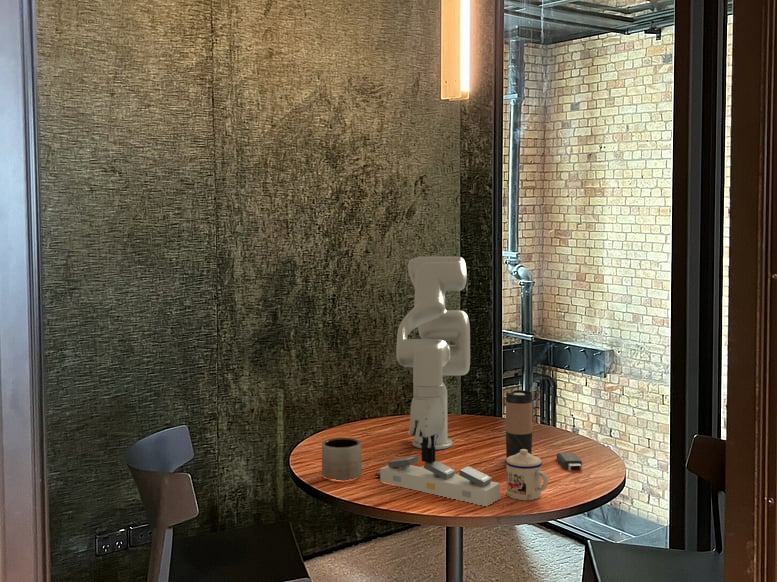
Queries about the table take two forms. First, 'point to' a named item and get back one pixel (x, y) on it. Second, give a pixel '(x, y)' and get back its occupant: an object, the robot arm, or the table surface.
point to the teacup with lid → (525, 476)
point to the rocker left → (403, 461)
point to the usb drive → (569, 461)
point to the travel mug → (518, 422)
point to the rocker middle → (440, 469)
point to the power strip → (440, 484)
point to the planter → (341, 458)
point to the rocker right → (475, 476)
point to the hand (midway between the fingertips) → (428, 461)
